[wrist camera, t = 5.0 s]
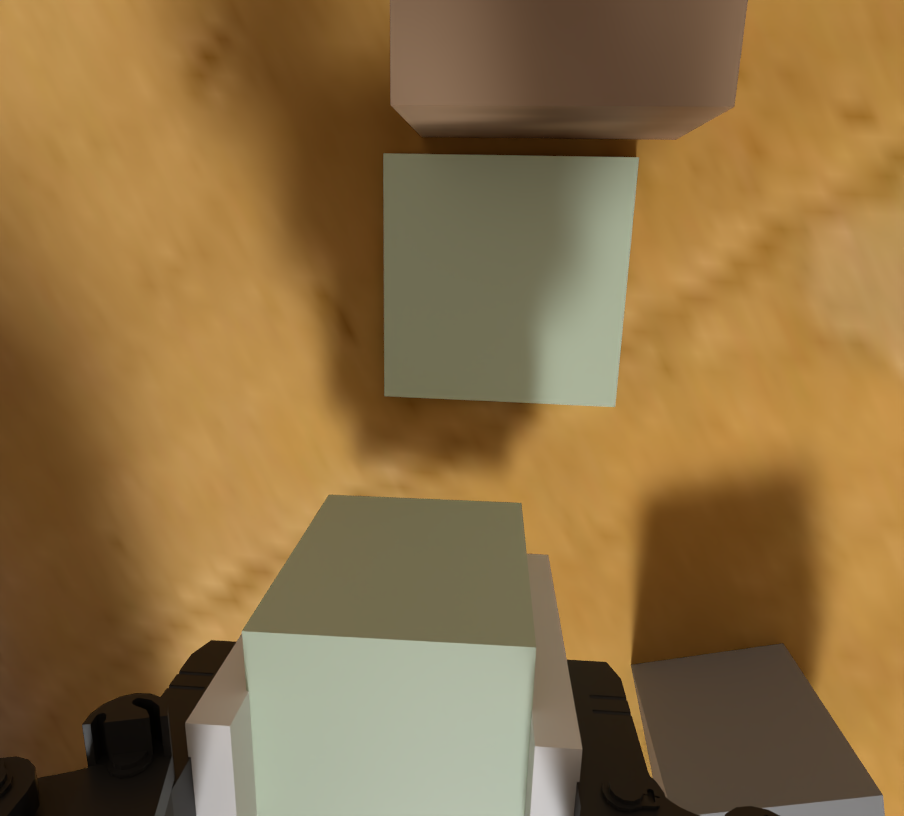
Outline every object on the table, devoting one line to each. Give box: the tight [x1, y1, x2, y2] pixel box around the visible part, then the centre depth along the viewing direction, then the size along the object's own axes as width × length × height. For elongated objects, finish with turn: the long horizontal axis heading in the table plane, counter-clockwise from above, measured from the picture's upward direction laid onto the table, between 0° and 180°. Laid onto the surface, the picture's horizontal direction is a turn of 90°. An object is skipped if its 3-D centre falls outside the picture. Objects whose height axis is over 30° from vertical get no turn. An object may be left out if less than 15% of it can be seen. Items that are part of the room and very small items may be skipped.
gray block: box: [631, 643, 885, 816], centre depth 19 cm, size 5×5×6 cm
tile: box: [383, 153, 639, 407], centre depth 19 cm, size 7×7×1 cm
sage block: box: [242, 495, 536, 816], centre depth 14 cm, size 5×5×6 cm
